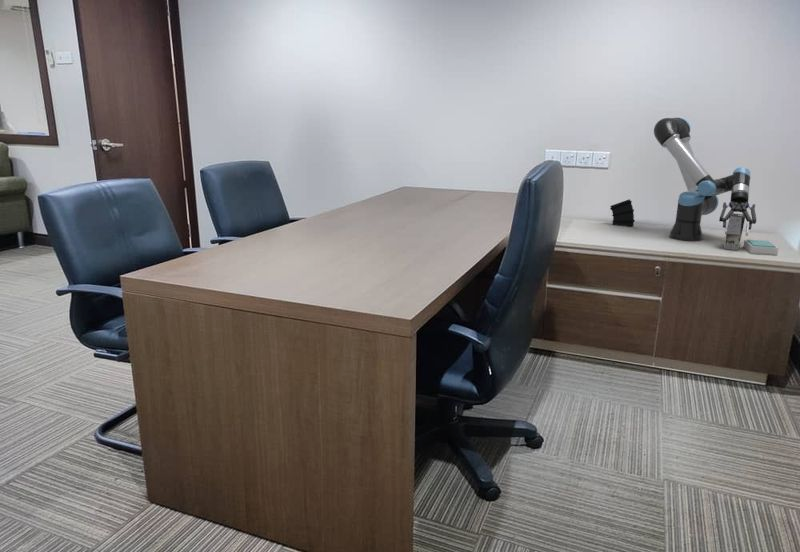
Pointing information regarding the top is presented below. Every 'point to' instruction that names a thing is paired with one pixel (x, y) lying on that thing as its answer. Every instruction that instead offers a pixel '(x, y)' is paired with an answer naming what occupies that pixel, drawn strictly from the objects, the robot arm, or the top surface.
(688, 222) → the robot arm
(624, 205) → the black ridged block
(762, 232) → the top surface
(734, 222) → the coffee box
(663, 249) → the top surface
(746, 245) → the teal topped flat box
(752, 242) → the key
